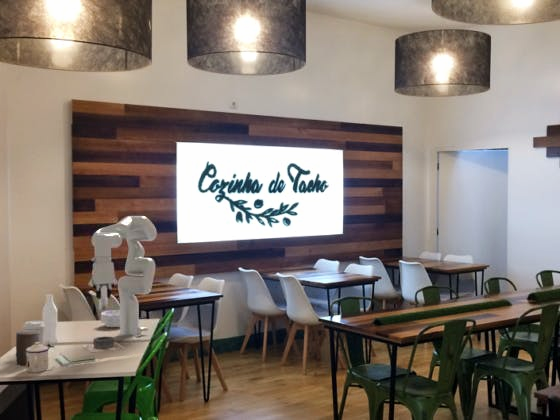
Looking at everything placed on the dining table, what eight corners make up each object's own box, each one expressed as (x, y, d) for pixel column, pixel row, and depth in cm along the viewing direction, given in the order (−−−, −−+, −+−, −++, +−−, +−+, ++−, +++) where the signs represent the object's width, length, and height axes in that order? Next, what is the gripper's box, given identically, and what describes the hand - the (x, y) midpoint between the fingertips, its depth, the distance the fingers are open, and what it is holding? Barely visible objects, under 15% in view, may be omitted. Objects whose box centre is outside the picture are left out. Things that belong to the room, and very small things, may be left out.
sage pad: (87, 355, 298) (87, 352, 298) (95, 361, 286) (95, 359, 286) (56, 359, 291) (56, 356, 291) (63, 365, 279) (63, 363, 279)
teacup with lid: (27, 367, 276) (27, 340, 276) (49, 366, 279) (49, 339, 278) (23, 375, 265) (23, 347, 264) (47, 373, 267) (47, 345, 267)
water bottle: (52, 347, 314) (52, 296, 314) (39, 346, 316) (38, 295, 315) (60, 343, 321) (60, 293, 321) (47, 343, 323) (46, 293, 322)
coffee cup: (23, 353, 302) (22, 321, 302) (44, 351, 306) (44, 319, 306) (23, 357, 293) (23, 325, 293) (46, 355, 297) (45, 323, 297)
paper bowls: (118, 329, 355) (118, 315, 355) (95, 327, 361) (95, 313, 361) (134, 324, 369) (134, 310, 369) (111, 322, 375) (111, 309, 375)
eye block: (115, 344, 319) (115, 333, 319) (125, 351, 305) (125, 339, 305) (82, 348, 311) (82, 337, 311) (91, 355, 297) (90, 343, 297)
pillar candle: (16, 366, 279) (16, 331, 278) (15, 361, 288) (15, 327, 287) (40, 364, 282) (40, 330, 282) (39, 359, 291) (39, 326, 291)
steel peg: (109, 309, 307) (108, 281, 307) (100, 310, 305) (100, 282, 304) (106, 307, 311) (106, 280, 310) (98, 308, 309) (97, 281, 308)
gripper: (87, 261, 300) (87, 300, 300) (122, 259, 308) (123, 297, 309) (83, 260, 306) (83, 298, 307) (118, 258, 315) (118, 295, 315)
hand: (103, 297), depth 308 cm, fingers closed on steel peg, 4 cm apart
